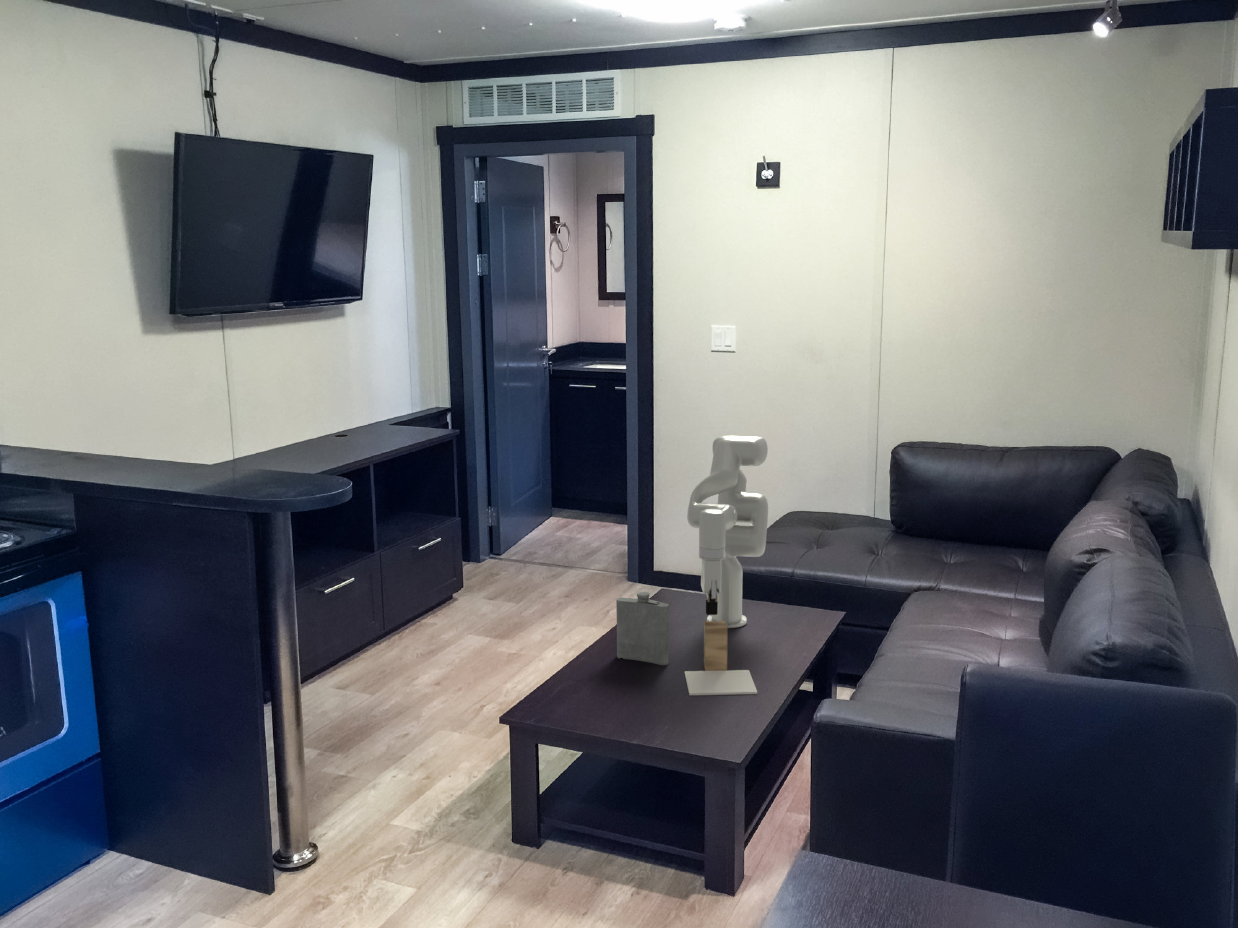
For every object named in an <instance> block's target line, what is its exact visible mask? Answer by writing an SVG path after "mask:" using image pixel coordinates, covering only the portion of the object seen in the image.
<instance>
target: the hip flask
mask: <svg viewBox="0 0 1238 928" xmlns="http://www.w3.org/2000/svg"><path fill="white" fill-rule="evenodd" d="M636 597H637V598H633V597H632V598H631V597H617V598H616V599H615V600H616V602H615V603H616V658H617V659H620V658H623V659H624V660H631V661H640V662H645V663H651V664H655V665H659V666H667V665H669V664H670V663H669V661H670V660H669V659H670V648H669V647H670V646H669V644H670V643H669V639H670V638H669V637H670V635H669V634H670V633H669V632H670V630H669V628H670V626H669V625H670V624H669V623H670V621H669V619H670V617H669V615H670V614H669V613H670V608H669V605H670V604H669V603H666V602H661V601H658V600H654V599H650V592H648V591H638V592H637V593H636ZM623 659H622V660H623Z"/></svg>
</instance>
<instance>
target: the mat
mask: <svg viewBox="0 0 1238 928" xmlns="http://www.w3.org/2000/svg"><path fill="white" fill-rule="evenodd" d="M751 674H752V673H751V672H750V670H749V669H741V670H740V669H735V670H734V669H733V670H732V669H731V670H728V669H727V670H725V671H705V670H688V671H686V670H685V671H684V676H685V677H684V678H685V681H686V685H687V690H688V694H689V696H718V695H719V696H720V695H721V696H722V695H723V696H724V695H725V696H726V695H757V694H758V690H757V688H756V684H755V682H754V679H753V678H752V675H751Z"/></svg>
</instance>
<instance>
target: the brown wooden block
mask: <svg viewBox="0 0 1238 928" xmlns="http://www.w3.org/2000/svg"><path fill="white" fill-rule="evenodd" d="M703 667H704V671H725V670H728V628H727V624H726V622H725V621H707V620H705V621H703Z"/></svg>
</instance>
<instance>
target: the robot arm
mask: <svg viewBox="0 0 1238 928" xmlns="http://www.w3.org/2000/svg"><path fill="white" fill-rule="evenodd" d="M768 449H769V448H768V444H767V441H766V439H765V438H764V437H762V436H748V435H747V436H745V435H744V436H740V435H721V436H719V437H716V438H715V439H714V440H713V441H712V455H713V456H712V461H711V466H710V467H711V468H710V474H709V475H708V476H707V477H705V478H704V479H702V481H701V480H700V482H699V483H698V484H697V485H696V486H695V488H694V489H693V491H692V492H691V494H690V498H689V503H688V507H687V516H686V517H687V523H688V525H689V526H690V527H691V528H693V529H698V536H699V539H698V558H699V559H701V572H700V575H701V576H700V586H701V590H702V593H703V594H705V596H706V600H705V613H706V616H707V617H706V621H725V622H726V624H727V629H735V628H741V627H743V626H745V625H747V623H748V618H747V617H746V616H745V615H743V567H742V564H741V562H740V561H739V560H738V558H737V557H750V558H758V557H761V556H763V555H764V553H765V551H766V546H767V533H768V520H769V518H768V517H769V503H768V499H767V498H766V496H765V495H763V494H761V493H756V492H747V490H746V489H747V477H746V475H745V474H744V472H743V470H742V469H741V468H740V467H759V466H761V465H762V464H763V463H765V461H766V459H767V457H768ZM715 495H717V503H714V502H711V503H710V502H704V501H705V500H706V499H708V498H710V497H713V496H715ZM737 523H738V524H737ZM739 523H740V524H751V525H739Z"/></svg>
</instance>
